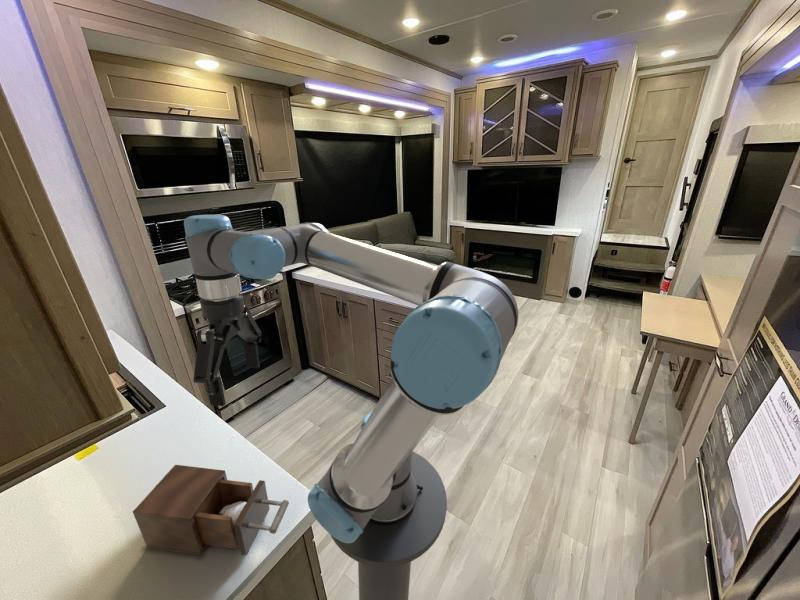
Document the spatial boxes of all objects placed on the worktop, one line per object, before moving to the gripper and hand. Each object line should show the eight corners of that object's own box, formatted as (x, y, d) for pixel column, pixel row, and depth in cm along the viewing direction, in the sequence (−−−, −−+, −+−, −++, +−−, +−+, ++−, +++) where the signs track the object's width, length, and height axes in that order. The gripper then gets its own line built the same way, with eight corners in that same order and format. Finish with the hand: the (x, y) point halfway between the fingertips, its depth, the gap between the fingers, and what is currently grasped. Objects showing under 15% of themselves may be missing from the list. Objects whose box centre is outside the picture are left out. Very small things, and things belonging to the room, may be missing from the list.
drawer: (294, 512, 70) (290, 483, 67) (274, 559, 61) (269, 529, 58) (225, 503, 72) (218, 475, 68) (196, 548, 63) (186, 518, 60)
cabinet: (233, 504, 72) (225, 470, 68) (201, 555, 62) (190, 519, 59) (185, 498, 73) (175, 464, 69) (147, 547, 63) (132, 511, 60)
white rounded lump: (234, 506, 70) (230, 488, 68) (256, 516, 68) (252, 498, 66) (213, 530, 65) (208, 512, 63) (235, 541, 63) (231, 523, 61)
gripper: (239, 276, 75) (251, 353, 83) (151, 320, 52) (180, 422, 59) (269, 278, 74) (279, 356, 82) (194, 323, 51) (218, 426, 59)
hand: (237, 384), depth 71 cm, fingers open, 13 cm apart
